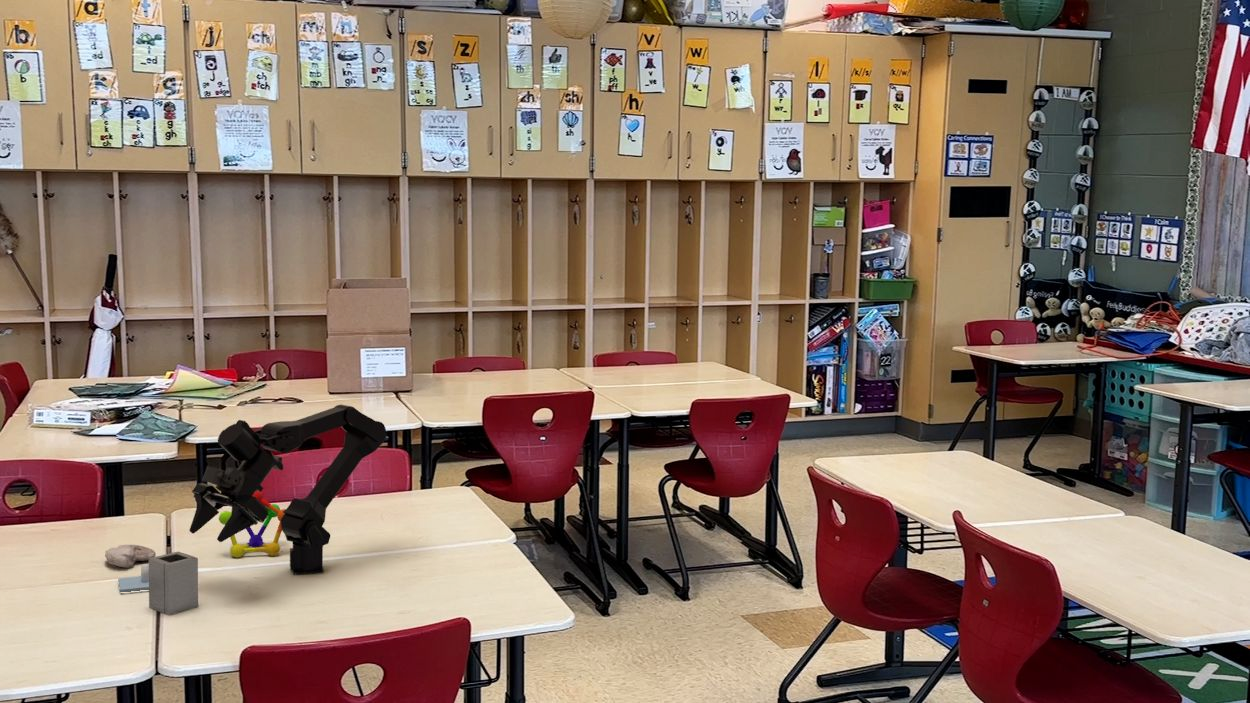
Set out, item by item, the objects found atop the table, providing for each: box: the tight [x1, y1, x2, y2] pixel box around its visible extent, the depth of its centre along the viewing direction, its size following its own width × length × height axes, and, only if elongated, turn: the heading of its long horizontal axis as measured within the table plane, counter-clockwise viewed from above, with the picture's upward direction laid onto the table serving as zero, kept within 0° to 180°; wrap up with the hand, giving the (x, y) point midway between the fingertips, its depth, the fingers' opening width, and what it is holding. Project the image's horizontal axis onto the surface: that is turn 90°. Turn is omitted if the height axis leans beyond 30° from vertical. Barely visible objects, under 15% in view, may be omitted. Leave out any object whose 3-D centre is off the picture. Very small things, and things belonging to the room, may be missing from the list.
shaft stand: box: [117, 563, 149, 593], centre depth 243 cm, size 10×8×4 cm
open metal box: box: [148, 551, 199, 616], centre depth 231 cm, size 7×7×10 cm
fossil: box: [104, 544, 156, 569], centre depth 258 cm, size 12×4×10 cm
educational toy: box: [218, 491, 287, 558], centre depth 269 cm, size 16×13×15 cm
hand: (204, 536), depth 236 cm, fingers open, 9 cm apart
